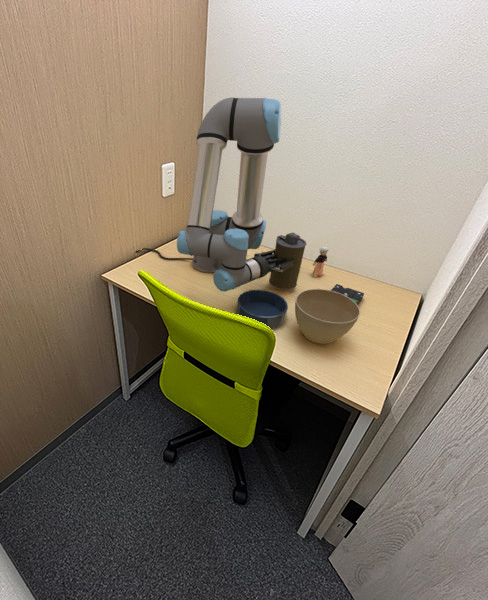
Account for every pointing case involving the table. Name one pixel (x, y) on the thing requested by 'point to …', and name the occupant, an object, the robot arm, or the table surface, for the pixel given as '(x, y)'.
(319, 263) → the grandmother figurine
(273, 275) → the canister
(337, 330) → the tan rounded vessel
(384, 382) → the table surface
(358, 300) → the disk drive
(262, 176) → the robot arm
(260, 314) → the bowl
